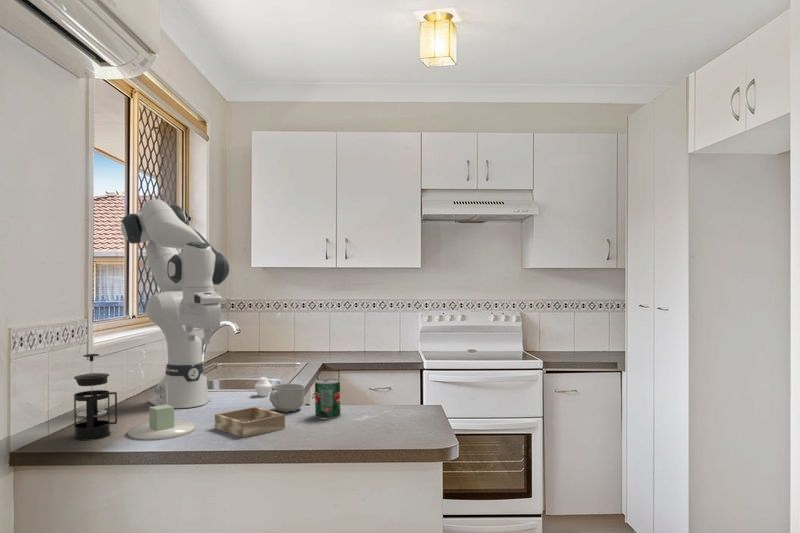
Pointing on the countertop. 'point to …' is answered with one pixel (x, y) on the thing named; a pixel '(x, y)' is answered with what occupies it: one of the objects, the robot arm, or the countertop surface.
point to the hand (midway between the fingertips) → (198, 342)
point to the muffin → (263, 387)
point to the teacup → (287, 396)
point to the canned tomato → (327, 398)
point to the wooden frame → (241, 427)
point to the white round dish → (161, 431)
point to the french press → (92, 406)
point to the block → (161, 417)
